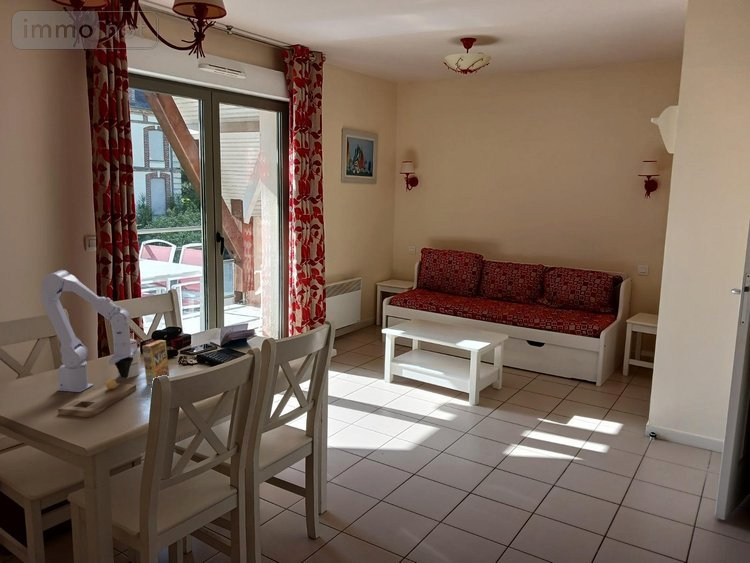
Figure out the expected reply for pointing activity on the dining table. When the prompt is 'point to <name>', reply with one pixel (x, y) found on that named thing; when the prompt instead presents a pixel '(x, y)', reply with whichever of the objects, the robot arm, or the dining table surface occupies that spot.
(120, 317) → the robot arm
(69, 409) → the hole board
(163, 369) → the candy box
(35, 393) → the dining table surface
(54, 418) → the dining table surface
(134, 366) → the syrup box
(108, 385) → the ball
